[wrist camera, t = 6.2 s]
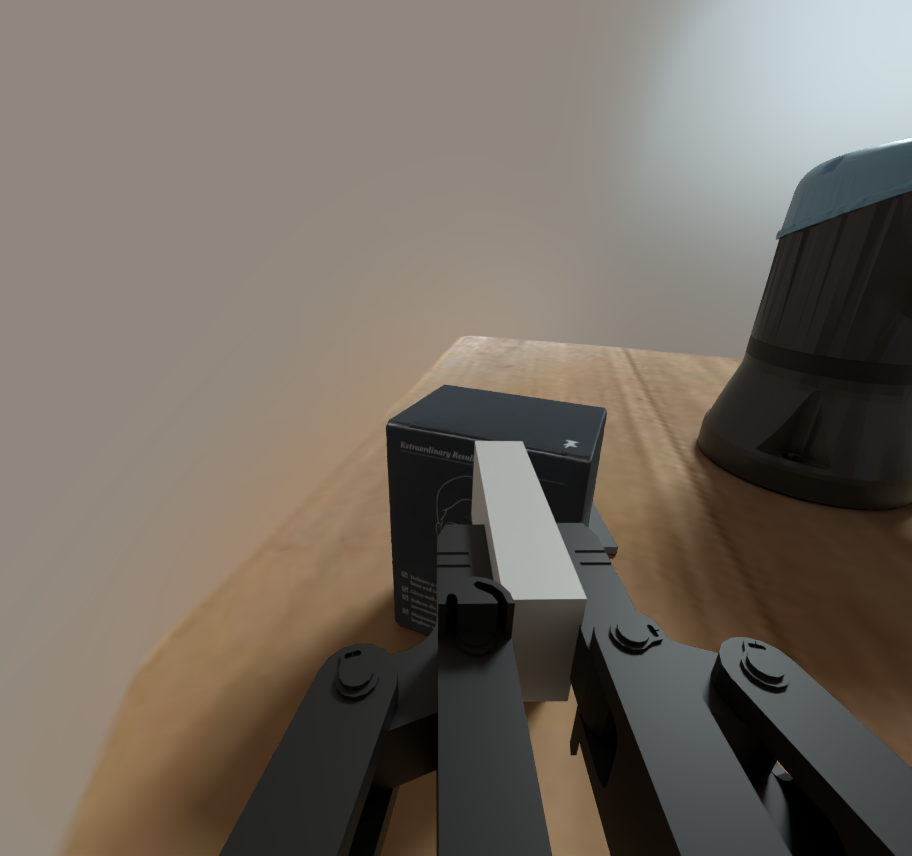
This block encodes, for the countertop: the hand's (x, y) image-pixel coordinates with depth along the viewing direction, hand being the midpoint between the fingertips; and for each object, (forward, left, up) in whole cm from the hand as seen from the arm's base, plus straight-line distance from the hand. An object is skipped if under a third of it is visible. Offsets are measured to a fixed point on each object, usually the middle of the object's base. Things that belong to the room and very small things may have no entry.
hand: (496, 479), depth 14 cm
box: (-4, +1, -10) cm, 11 cm away
